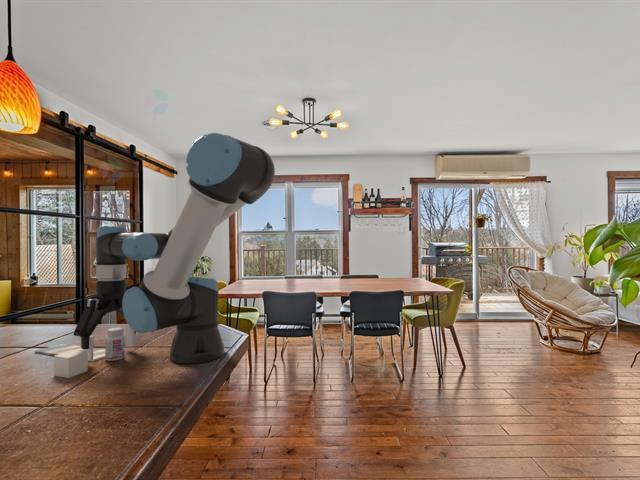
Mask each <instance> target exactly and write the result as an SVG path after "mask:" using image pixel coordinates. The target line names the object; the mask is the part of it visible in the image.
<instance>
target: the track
mask: <svg viewBox="0 0 640 480" xmlns="http://www.w3.org/2000/svg"><path fill="white" fill-rule="evenodd" d="M72 350H77V351H83V349H82V348H81V345H74V344H67V343H66V344H65V343H60V344H55V345H53V346H49V347H48V346H47V347H45V348H41V349H37V350H34V354H38V353H39V355H45V356H46V355H47V356H53V357H54V356H56V355H59V354H62V353H66V352H69V351H72ZM102 359H105V348H104V349H103V348H97V347H93V361H91V362H96V361H99V360H100V361H101V360H102Z"/></svg>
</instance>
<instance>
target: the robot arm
mask: <svg viewBox="0 0 640 480" xmlns="http://www.w3.org/2000/svg"><path fill="white" fill-rule="evenodd" d="M185 160H186V162H185V163H186V164H187V165H186V166H185V169H186V172H187V175H188V177H189V178H188V181H187V182H188V185H189V187H190V193H189V195H188V198H187V199H186V201H185V204H184V206H183V208H182V210H181V212H180V214H179V216H178V219H177V220H176V222H175V223H176V224H175V225H174V227H173V228H172V229H171V230H169V231H168V232H166V233H165V232H164V233H163V232H162V233H161V232H154V233H153V232H142V231H141V232H140V231H139V232H138V231H136V232H135V231H134V232H128V231H127V230H128V229H127V227H126V226H124V225H123V226H122V225H99V226H98V227H97V229H96V237H95V254H96V258H95V259H96V265H95V266H96V268H95V270H96V271H95V278H96V279H97V280H96V282H95V293H96V295H97V297H96V298H95V299H94V298H93V299H92V298H86V300H85V305H84V309H83V311H82V313H81V316H80V318H79V320H78V322H77V324H76V327H75V329H74V331H73V332H72V333H73V334H72V335H73V336H75V337H80V338H81V339H80V346H81V348H82V349H83V351H84V352H88V362H92V361H93V348H94V335H92V334H93V333H94V331H95V330H96V328H97V327H98V325H99V323H100V322H101V321H102V319H103V317H104V316H106V315H107V314H108V313H112V312H118V313H119V315H121V316H122V317H123V318H124V320H125V322H126V323H127V324H125V347H131V348H133V347H136V346H135V345H136V344H135V343H136V342H135V340H136V339H135V338H136V334H137V333H139V334H146V333H154V332H157V331H160V330H164V329H169V328H172V327H175V328H176V329H175V334H174V337H173V340H172V342H171V347H170V349H169V360H170V361H172V362H174V363H178V364H188V365H189V364H199V363H207V362H211V361H215V360H217V359H219V358H221V357H223V356H224V354H225V345H224V343H223V339H222V336H221V332H220V330H219V287H218V286H219V285H218V283H219V282H218V281H217V280H216V279H215V278H212V277H200V276H199V277H198V276H197V277H196V276H195V277H194V276H192V275H193V274H194V271H195V269H196V267H197V265H198V263H199V261H200V259H201V258H202V256H203V254H204V251H205V249H206V247H207V246H208V243H209V241H210V239H211V238H212V235H213V233H214V232H215V230H216V228H217V227H218V226H220V225H221V224H222V223H223V222H225V221H226V220H227V219H229V218H230V217H231V216H232V215H234V214H235V213H236V212H238V211H239V210H240V209H241V208H243V207H244V206H246V205H253V204H254V203H255V202H256V201H258V200H259V199H261V198H262V197H263V196H264V195H265V194H266V193H267V192H268V190H270V188H271V187H272V184H273V183H274V179H275V176H276V175H275V173H276V168H275V163H274V161H273V159H272V157H271V156H270V155H269V153H268V152H267V151H265V150H264V149H263V148H261V147H259V146H257V145H252V144H250V143H248V142H246V141H243V140H240V139H238V138H235V137H233V136H231V135H229V134H228V135H227V134H221V133H218V132H210V133H207V134H204V135H201V136H200V137H198V138H197V139H196V140H195V141H194V142H193V143H192V145H190V148H189V149H188V152H187V155H186V159H185ZM156 259H157V260H158V259H159V260H158V261H157V264H156V265H155V268H154V270H150V271H148V272H147V273H145V274H144V276H143V278H142V279H141V282H140V284H139V285H138V286H133V287H131V288H128V289H127V280H126V279H125V278H127V260H131V261H137V262H139V261H148V260H156Z"/></svg>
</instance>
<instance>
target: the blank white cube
mask: <svg viewBox="0 0 640 480" xmlns="http://www.w3.org/2000/svg"><path fill="white" fill-rule="evenodd" d="M88 362H89V361H88V352H84V351H77V350H72V351H69V352H66V353H62V354H59V355H56V356H53V376H55V377H61V378H67V379H69V378H72V377H75V376H78V375H80V374H83V373H86V372H88V371H89V370H88V365H89V364H88Z"/></svg>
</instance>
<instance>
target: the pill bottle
mask: <svg viewBox="0 0 640 480" xmlns="http://www.w3.org/2000/svg"><path fill="white" fill-rule="evenodd" d="M106 331H107V332H106V333H107V336H106V337H105V345H104V346H105V348H104V349H105V358H104V359H105V360H106V361H109V362H113V361H119V360H122V359H124V357H125V346H126V335H125V334H124V333H125V332H124V331H125V330H124V328H123V327H112V328H108V329H107V330H106Z"/></svg>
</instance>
